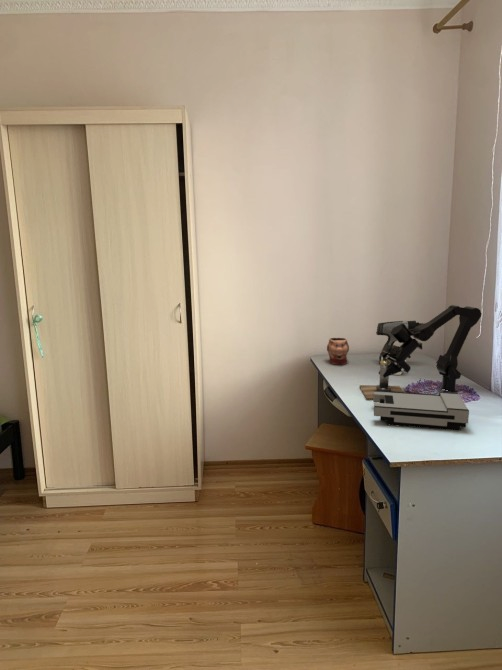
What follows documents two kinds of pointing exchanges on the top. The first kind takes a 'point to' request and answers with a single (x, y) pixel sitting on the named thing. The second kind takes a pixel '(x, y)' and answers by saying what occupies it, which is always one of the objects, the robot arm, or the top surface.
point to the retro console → (421, 409)
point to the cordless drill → (387, 328)
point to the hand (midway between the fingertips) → (381, 375)
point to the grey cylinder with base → (383, 380)
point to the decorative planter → (338, 350)
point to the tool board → (369, 390)
